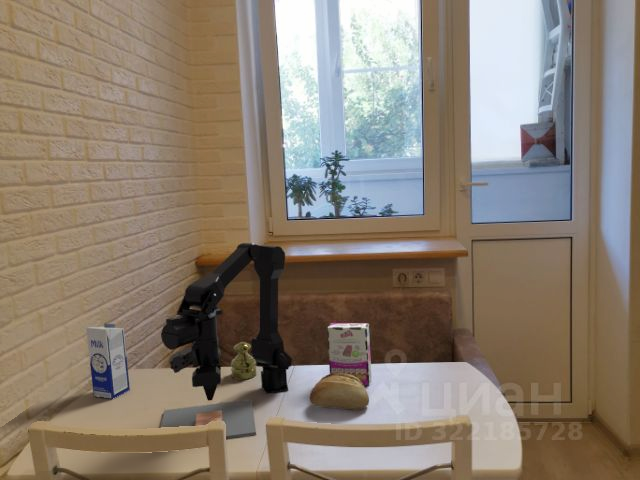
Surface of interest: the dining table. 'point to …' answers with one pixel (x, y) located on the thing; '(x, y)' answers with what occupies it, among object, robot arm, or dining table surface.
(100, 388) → the milk carton
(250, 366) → the olive tall rounded piece
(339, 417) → the dining table surface
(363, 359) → the candy bar box
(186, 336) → the robot arm
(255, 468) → the dining table surface
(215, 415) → the tile
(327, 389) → the bread roll
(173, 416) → the mat
